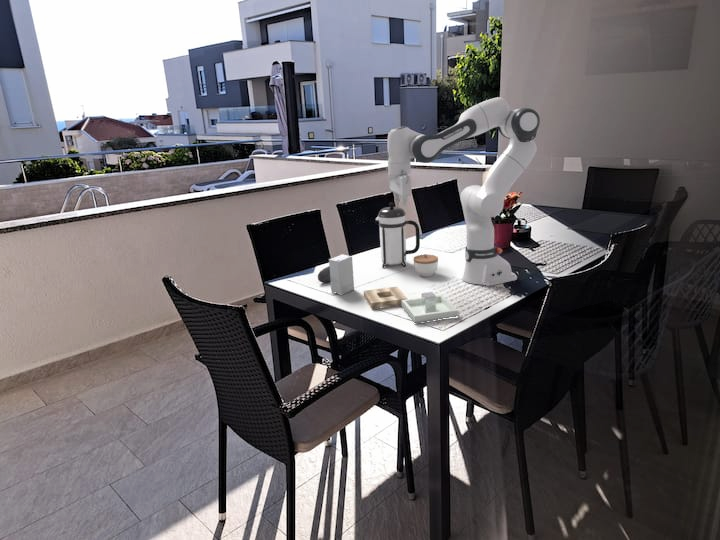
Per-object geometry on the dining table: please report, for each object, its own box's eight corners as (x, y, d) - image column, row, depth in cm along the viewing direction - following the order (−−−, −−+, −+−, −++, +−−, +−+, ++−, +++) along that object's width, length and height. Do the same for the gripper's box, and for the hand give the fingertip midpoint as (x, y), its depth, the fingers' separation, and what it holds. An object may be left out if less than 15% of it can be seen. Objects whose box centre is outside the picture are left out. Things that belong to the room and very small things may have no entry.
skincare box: (344, 287, 209) (342, 253, 204) (355, 289, 205) (352, 255, 200) (330, 292, 203) (327, 258, 198) (340, 295, 199) (338, 260, 194)
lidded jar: (439, 271, 221) (439, 251, 219) (436, 278, 212) (436, 258, 209) (416, 270, 224) (415, 250, 221) (412, 278, 215) (411, 257, 212)
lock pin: (432, 307, 179) (432, 292, 177) (436, 311, 176) (435, 295, 174) (421, 308, 179) (421, 293, 177) (425, 312, 175) (425, 297, 173)
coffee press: (394, 271, 224) (392, 207, 215) (372, 264, 236) (368, 203, 227) (421, 263, 234) (419, 200, 225) (398, 256, 246) (395, 197, 237)
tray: (442, 302, 186) (441, 294, 185) (458, 318, 171) (458, 310, 170) (401, 307, 183) (401, 300, 183) (414, 324, 168) (414, 316, 168)
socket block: (397, 292, 199) (397, 286, 198) (407, 304, 186) (407, 298, 185) (363, 296, 196) (363, 290, 196) (371, 309, 183) (371, 303, 183)
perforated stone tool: (321, 285, 212) (320, 270, 210) (315, 282, 216) (313, 267, 214) (349, 277, 220) (348, 262, 218) (342, 274, 225) (341, 260, 222)
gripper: (415, 171, 184) (415, 207, 189) (400, 166, 203) (401, 199, 208) (398, 173, 183) (400, 209, 187) (385, 167, 202) (386, 201, 207)
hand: (400, 204), depth 198 cm, fingers open, 8 cm apart
